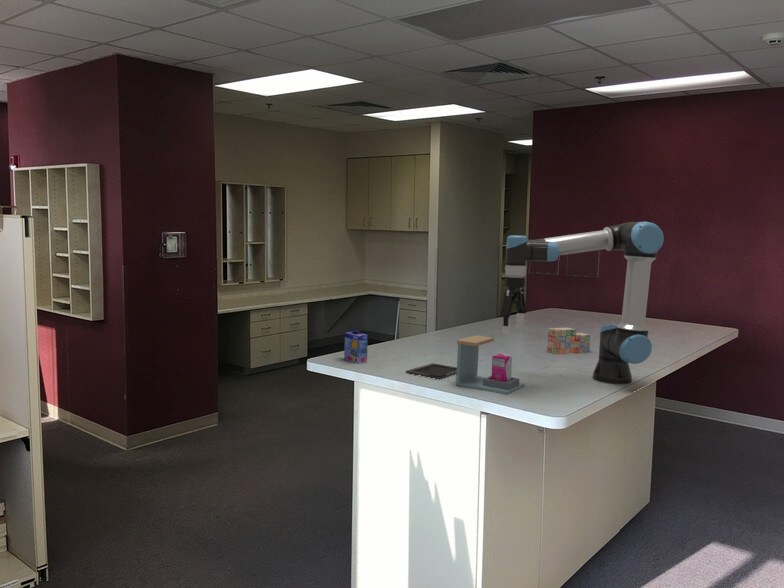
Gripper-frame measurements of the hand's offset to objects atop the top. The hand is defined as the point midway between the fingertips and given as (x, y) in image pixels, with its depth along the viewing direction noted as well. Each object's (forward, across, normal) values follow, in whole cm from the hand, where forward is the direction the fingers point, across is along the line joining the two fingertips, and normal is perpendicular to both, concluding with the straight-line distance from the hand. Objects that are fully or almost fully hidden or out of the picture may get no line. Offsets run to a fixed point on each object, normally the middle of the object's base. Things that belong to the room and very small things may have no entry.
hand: (513, 332), depth 251 cm
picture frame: (+21, -2, -34) cm, 40 cm away
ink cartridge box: (+20, +2, -71) cm, 74 cm away
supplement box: (+20, +5, -2) cm, 21 cm away
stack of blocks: (+22, -87, -5) cm, 90 cm away
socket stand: (+21, +4, -7) cm, 22 cm away
